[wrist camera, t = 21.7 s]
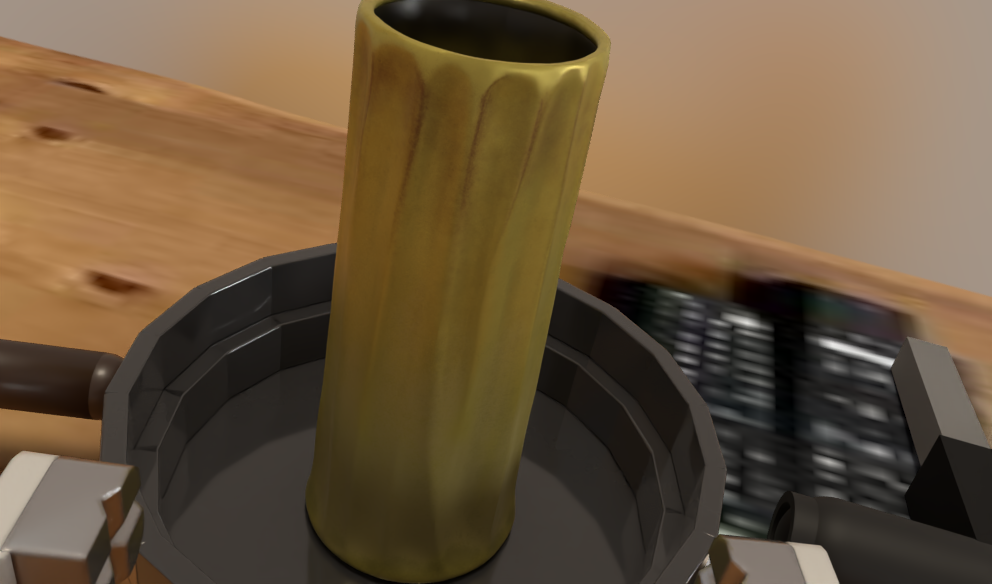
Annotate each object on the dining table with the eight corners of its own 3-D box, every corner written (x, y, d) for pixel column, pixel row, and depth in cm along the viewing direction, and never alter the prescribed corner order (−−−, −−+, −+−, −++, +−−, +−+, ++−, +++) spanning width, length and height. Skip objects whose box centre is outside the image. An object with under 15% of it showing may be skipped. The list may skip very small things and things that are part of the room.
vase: (530, 458, 28) (645, 15, 20) (488, 616, 22) (620, 103, 15) (350, 408, 28) (392, -43, 20) (269, 551, 23) (282, 23, 15)
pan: (638, 374, 33) (669, 277, 31) (731, 824, 20) (802, 716, 17) (211, 318, 32) (208, 212, 29) (-1, 760, 18) (-39, 633, 16)
